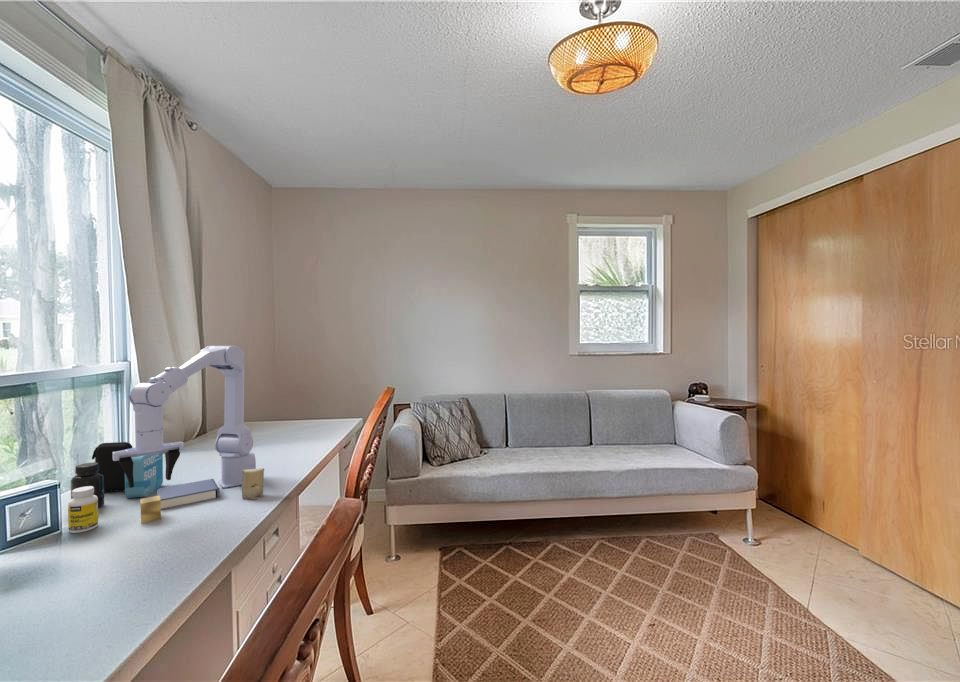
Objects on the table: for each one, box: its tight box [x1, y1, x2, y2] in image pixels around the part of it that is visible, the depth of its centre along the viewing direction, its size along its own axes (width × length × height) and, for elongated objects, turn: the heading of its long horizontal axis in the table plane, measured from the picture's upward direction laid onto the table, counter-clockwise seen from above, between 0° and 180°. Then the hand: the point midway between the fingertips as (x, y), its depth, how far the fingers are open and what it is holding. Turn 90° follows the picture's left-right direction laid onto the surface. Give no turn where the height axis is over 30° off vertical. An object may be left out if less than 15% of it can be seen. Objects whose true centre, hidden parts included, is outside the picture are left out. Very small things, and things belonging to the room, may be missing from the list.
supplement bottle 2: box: [67, 486, 99, 534], centre depth 107 cm, size 5×5×10 cm
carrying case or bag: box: [91, 441, 134, 493], centre depth 133 cm, size 11×3×15 cm, turn 100°
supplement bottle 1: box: [70, 461, 105, 510], centre depth 120 cm, size 7×7×12 cm
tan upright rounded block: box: [241, 467, 265, 500], centre depth 128 cm, size 6×5×8 cm
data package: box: [124, 453, 164, 499], centre depth 132 cm, size 12×4×12 cm, turn 12°
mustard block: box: [139, 495, 162, 524], centre depth 113 cm, size 4×4×5 cm
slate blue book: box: [156, 478, 220, 510], centre depth 127 cm, size 14×11×3 cm
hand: (150, 482), depth 113 cm, fingers open, 7 cm apart
